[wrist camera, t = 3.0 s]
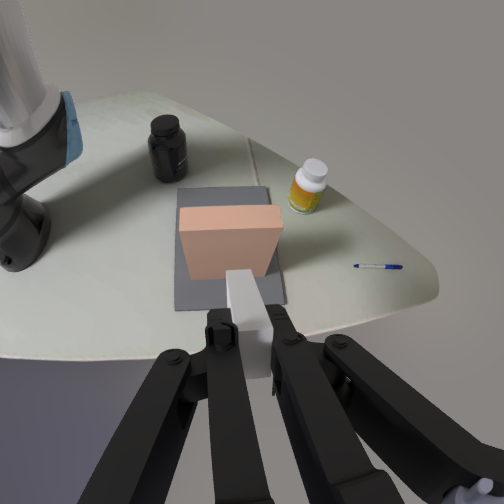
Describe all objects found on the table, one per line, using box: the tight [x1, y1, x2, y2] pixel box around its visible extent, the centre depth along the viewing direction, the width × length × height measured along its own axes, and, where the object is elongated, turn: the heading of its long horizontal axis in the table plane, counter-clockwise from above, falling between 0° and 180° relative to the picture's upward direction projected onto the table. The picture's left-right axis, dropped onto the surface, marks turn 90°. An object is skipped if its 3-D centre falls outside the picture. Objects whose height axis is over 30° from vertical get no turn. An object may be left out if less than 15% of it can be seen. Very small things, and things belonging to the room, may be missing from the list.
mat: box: [174, 186, 285, 311], centre depth 45 cm, size 22×16×1 cm
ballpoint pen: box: [354, 264, 403, 269], centre depth 46 cm, size 10×1×1 cm, turn 92°
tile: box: [179, 205, 283, 280], centre depth 36 cm, size 3×11×14 cm, turn 96°
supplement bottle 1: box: [148, 115, 188, 183], centre depth 45 cm, size 7×7×12 cm
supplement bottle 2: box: [288, 158, 328, 214], centre depth 46 cm, size 5×5×10 cm
